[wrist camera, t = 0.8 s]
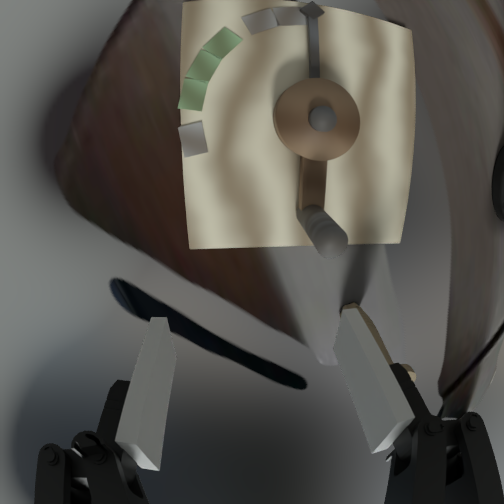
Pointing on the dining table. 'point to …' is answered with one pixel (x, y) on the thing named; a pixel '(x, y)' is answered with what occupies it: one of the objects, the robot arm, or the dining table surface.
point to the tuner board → (263, 132)
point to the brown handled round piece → (317, 139)
